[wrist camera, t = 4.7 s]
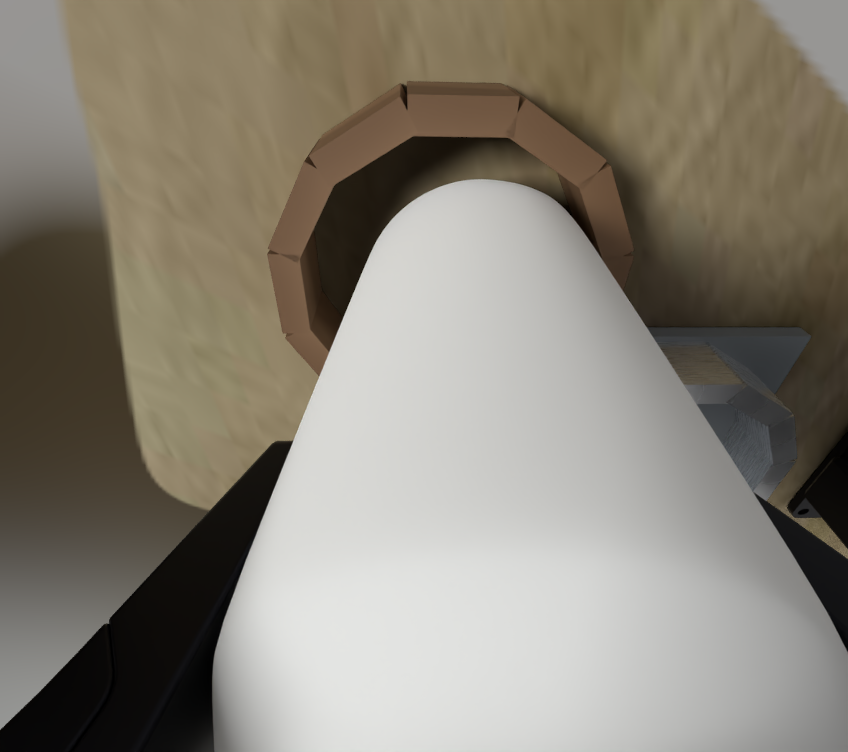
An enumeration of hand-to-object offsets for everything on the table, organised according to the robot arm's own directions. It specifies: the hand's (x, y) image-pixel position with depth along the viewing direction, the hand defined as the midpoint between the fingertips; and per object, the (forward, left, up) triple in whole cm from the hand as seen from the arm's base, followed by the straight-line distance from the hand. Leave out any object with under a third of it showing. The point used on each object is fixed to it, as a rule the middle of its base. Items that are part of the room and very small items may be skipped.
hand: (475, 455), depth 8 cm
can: (-1, 0, -7) cm, 7 cm away
